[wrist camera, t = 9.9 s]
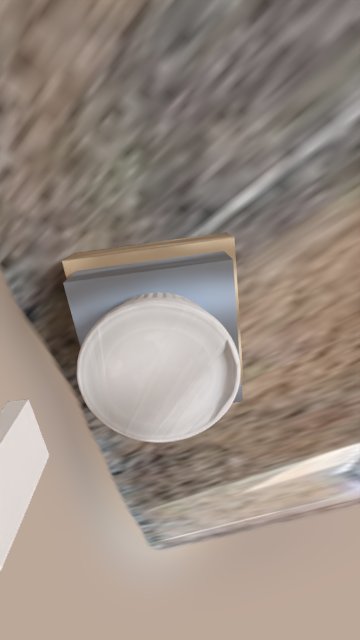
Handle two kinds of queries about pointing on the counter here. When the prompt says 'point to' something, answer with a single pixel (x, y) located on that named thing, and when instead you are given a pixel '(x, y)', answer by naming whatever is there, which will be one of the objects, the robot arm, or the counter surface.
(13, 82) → the counter surface
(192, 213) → the counter surface
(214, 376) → the ramekin
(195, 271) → the block tower
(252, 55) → the counter surface
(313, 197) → the counter surface
